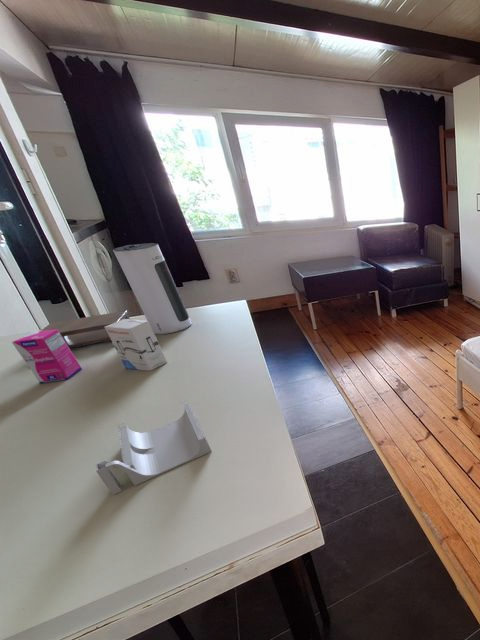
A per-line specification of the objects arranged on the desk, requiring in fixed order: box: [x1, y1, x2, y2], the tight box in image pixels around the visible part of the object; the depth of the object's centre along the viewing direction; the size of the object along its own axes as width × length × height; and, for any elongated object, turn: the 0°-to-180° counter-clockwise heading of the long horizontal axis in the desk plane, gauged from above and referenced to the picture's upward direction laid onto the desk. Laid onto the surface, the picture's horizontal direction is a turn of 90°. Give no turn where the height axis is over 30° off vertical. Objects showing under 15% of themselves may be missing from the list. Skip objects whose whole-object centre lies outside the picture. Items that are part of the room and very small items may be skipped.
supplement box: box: [11, 329, 83, 384], centre depth 88 cm, size 6×6×12 cm
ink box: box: [105, 318, 168, 372], centre depth 91 cm, size 9×5×12 cm, turn 76°
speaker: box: [112, 242, 193, 335], centre depth 110 cm, size 11×10×26 cm
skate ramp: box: [95, 401, 212, 496], centre depth 63 cm, size 15×13×5 cm
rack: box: [40, 310, 131, 349], centre depth 108 cm, size 18×12×6 cm, turn 119°
